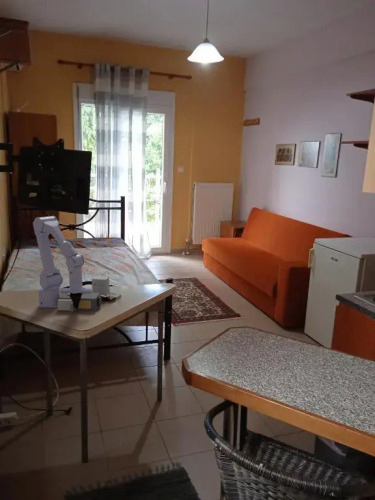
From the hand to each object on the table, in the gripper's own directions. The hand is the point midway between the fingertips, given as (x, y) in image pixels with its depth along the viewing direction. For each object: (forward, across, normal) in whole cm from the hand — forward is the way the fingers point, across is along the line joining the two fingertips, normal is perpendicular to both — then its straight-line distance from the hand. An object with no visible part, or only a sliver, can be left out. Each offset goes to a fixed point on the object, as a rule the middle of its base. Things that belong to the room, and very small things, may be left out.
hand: (76, 308), depth 191 cm
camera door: (+2, -5, +1) cm, 6 cm away
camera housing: (+2, -1, +8) cm, 8 cm away
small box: (+3, +6, +25) cm, 26 cm away
